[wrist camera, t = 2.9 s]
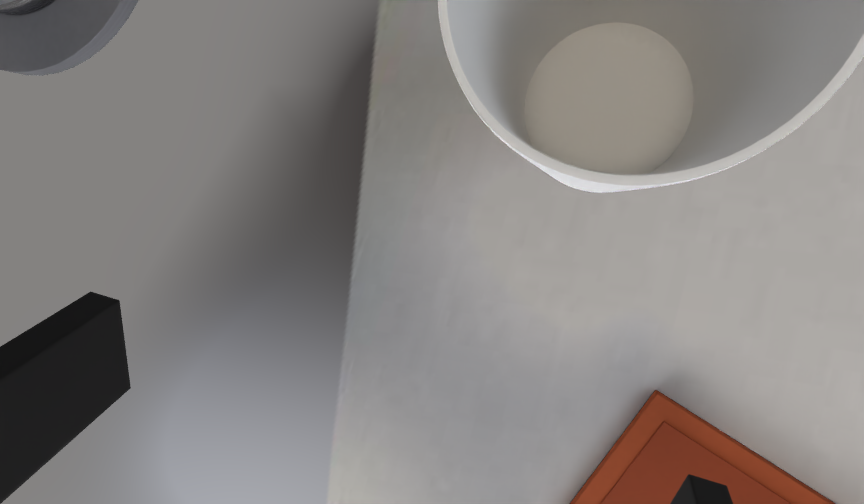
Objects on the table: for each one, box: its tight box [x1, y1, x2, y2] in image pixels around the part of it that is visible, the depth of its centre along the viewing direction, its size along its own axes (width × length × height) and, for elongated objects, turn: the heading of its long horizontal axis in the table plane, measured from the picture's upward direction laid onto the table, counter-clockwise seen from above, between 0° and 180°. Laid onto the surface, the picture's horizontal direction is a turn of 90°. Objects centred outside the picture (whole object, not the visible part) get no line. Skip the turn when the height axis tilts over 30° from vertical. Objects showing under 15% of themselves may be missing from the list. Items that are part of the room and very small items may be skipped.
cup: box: [438, 0, 864, 193], centre depth 17 cm, size 8×8×16 cm
